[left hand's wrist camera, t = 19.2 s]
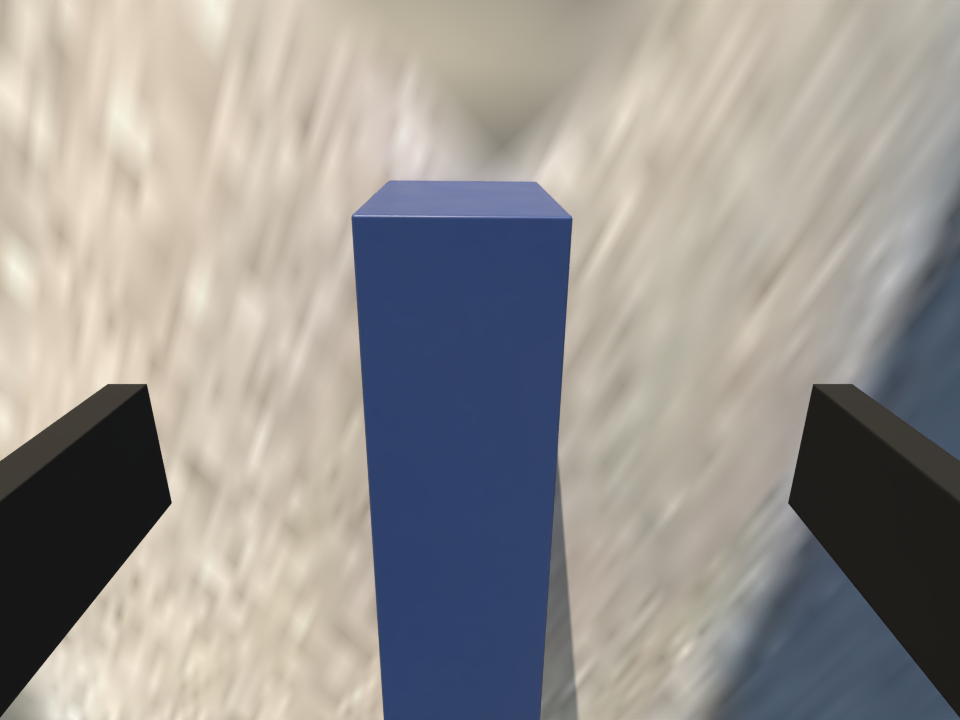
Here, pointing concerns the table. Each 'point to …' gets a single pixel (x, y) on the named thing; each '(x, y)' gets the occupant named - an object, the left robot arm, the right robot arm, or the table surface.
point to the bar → (461, 437)
